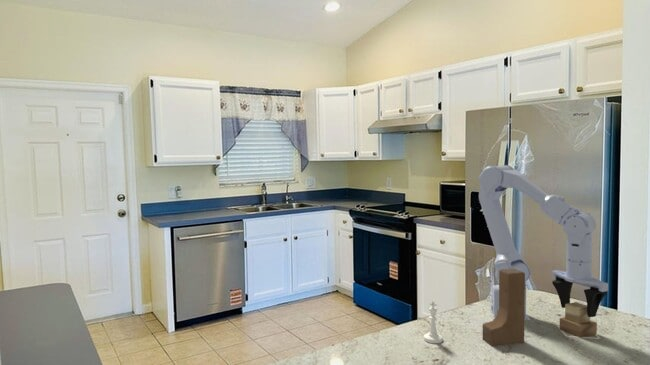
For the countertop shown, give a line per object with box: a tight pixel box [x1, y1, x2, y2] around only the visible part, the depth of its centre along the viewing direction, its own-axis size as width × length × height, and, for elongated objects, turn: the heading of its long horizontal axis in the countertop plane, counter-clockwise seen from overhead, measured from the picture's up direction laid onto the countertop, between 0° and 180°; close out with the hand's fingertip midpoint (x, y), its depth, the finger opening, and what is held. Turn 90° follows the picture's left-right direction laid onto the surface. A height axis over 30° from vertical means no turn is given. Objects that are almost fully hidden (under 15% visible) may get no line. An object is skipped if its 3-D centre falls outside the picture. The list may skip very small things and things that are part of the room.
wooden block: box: [482, 269, 526, 347], centre depth 111 cm, size 9×4×18 cm, turn 101°
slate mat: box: [555, 324, 602, 340], centre depth 116 cm, size 15×11×1 cm
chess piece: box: [422, 300, 444, 344], centre depth 114 cm, size 5×5×10 cm
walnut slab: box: [559, 316, 598, 339], centre depth 116 cm, size 6×6×3 cm
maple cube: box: [564, 301, 591, 324], centre depth 116 cm, size 4×4×4 cm
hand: (578, 311), depth 116 cm, fingers open, 7 cm apart
